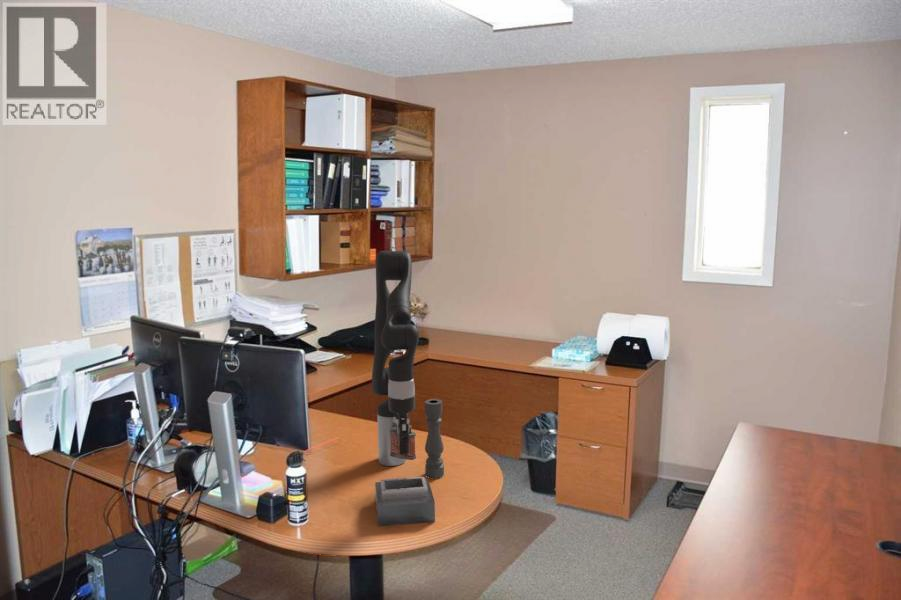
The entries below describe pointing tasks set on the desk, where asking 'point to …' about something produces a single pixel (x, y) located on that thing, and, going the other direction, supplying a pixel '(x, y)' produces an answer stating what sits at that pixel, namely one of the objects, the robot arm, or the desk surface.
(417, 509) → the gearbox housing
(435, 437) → the candle holder
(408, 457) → the lighter
